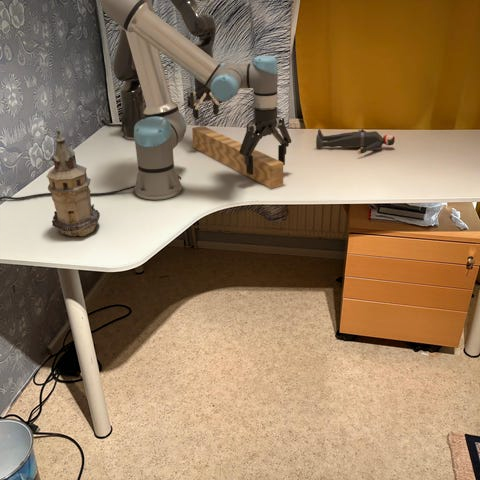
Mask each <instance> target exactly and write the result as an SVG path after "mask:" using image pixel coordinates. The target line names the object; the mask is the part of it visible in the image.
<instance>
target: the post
mask: <svg viewBox="0 0 480 480" xmlns="http://www.w3.org/2000/svg"><path fill="white" fill-rule="evenodd" d="M191 131H192V147H193V149H194V150H197V151H198V152H201V153H202V154H204V155H206V156H208V157H210V158H212V159H213V160H216V161H218V162H220V163H222V164H223V165H225V166H227V167H229V168H231V169H233V170H235V171H237V172H238V173H240V174H242V175H244V176H247V177H248V178H250V179H252V180H253V181H255V182H257V183H259V184H261V185H263V186H265V187H267V188H269V189H270V190H272V189H276V188H279V187H282V186H284V165H283V164H284V163H283V162H281V161H279V160H278V159H277V158H275V157H272V156H270V155H268V154H266V153H263V152H261V151H259V150H258V149H256V148H255V149H254V150H253V152H252V154H251V155H252V156H253V175H250V174H248V173H247V166H246V164H245V156H243V155H241V154H239V151H240V148H241V145H242V143H243V142H240V141H237V140H235V139H233V138H230V137H229V136H227V135H224V134H222V133H219V132H217V131H215V130H213V129H212V128H209V127H207V126H204V125H200V126H195V127H191ZM248 152H249V151H248Z"/></svg>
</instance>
